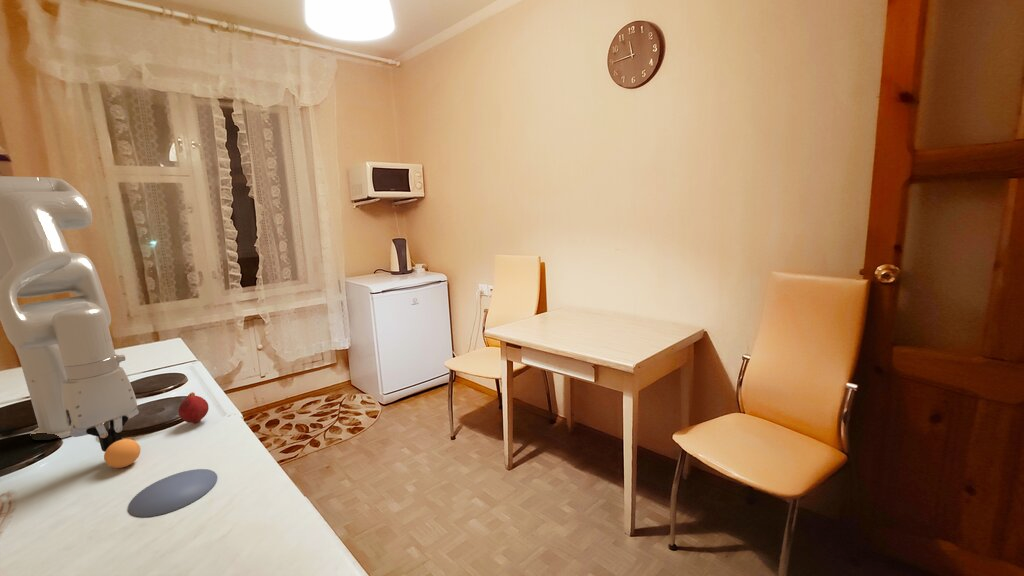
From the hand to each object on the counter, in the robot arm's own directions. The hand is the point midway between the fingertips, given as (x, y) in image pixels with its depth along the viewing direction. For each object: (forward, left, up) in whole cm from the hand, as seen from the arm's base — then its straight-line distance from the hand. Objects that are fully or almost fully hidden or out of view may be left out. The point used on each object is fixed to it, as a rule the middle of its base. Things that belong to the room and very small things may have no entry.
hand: (113, 451), depth 89 cm
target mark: (+24, 0, -2) cm, 24 cm away
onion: (-1, +16, -2) cm, 16 cm away
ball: (+4, 0, +1) cm, 4 cm away
